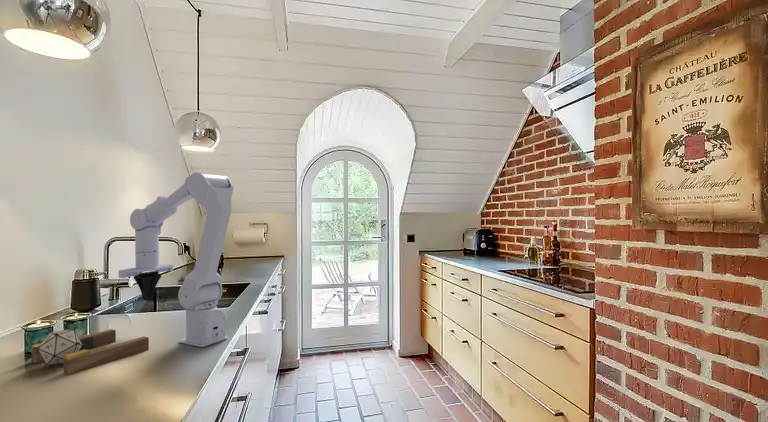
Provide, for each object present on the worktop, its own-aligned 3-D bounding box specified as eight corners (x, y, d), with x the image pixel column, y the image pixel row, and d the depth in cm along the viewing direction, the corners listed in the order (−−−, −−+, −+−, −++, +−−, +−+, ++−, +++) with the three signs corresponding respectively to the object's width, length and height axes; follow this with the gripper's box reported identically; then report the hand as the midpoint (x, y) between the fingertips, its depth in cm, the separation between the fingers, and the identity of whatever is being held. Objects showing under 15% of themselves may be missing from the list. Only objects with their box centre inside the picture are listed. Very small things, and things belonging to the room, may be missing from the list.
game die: (62, 383, 88) (52, 356, 82) (30, 368, 88) (18, 340, 83) (97, 351, 95) (90, 324, 90) (67, 338, 96) (58, 311, 90)
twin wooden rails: (148, 349, 98) (148, 334, 98) (68, 374, 83) (68, 356, 83) (111, 340, 106) (111, 326, 106) (31, 362, 91) (31, 345, 91)
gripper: (163, 249, 121) (163, 293, 121) (111, 253, 108) (112, 303, 108) (177, 249, 117) (178, 295, 117) (126, 254, 104) (127, 306, 104)
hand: (147, 299), depth 112 cm, fingers closed
